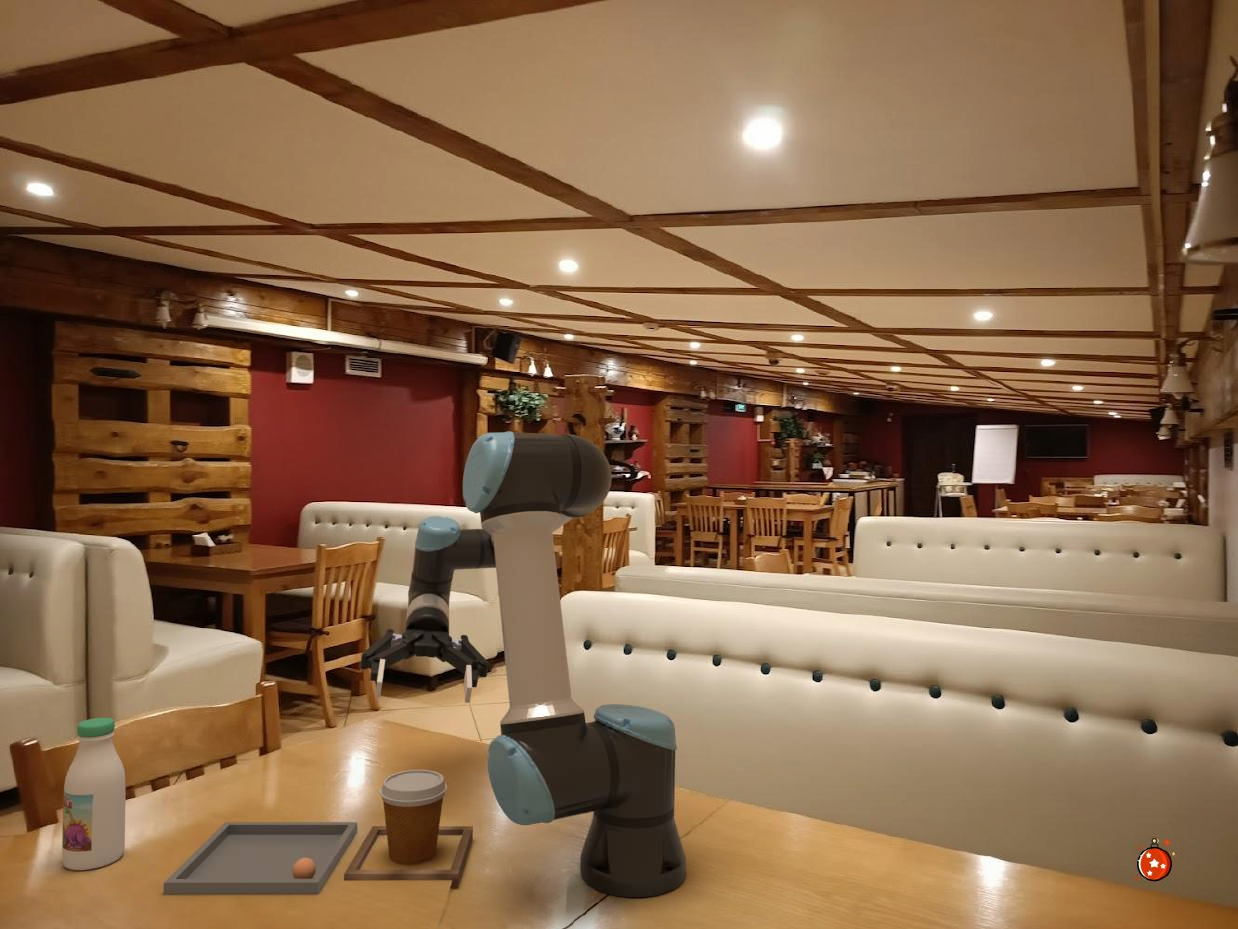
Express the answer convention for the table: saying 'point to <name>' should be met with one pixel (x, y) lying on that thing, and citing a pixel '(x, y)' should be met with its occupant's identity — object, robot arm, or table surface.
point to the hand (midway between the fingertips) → (424, 692)
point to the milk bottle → (94, 800)
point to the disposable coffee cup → (412, 814)
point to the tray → (262, 858)
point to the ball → (304, 869)
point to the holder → (451, 874)
